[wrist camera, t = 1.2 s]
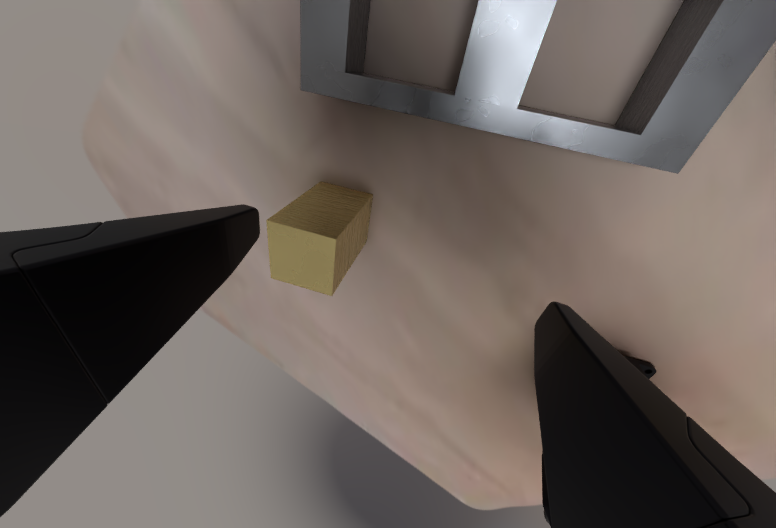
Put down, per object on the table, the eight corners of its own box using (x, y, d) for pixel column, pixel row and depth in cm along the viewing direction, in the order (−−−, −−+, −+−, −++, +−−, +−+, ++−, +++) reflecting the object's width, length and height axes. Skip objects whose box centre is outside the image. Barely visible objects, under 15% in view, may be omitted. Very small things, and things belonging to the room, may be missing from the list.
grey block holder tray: (647, 158, 16) (678, 173, 14) (323, 87, 18) (300, 90, 16) (780, -46, 12) (860, -76, 9) (330, -110, 14) (299, -150, 11)
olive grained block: (366, 241, 24) (331, 296, 18) (319, 229, 24) (271, 277, 18) (372, 194, 21) (336, 239, 16) (320, 181, 22) (266, 220, 16)
